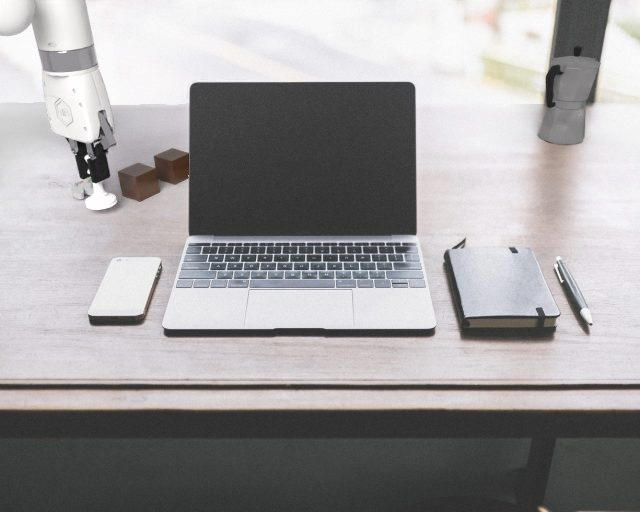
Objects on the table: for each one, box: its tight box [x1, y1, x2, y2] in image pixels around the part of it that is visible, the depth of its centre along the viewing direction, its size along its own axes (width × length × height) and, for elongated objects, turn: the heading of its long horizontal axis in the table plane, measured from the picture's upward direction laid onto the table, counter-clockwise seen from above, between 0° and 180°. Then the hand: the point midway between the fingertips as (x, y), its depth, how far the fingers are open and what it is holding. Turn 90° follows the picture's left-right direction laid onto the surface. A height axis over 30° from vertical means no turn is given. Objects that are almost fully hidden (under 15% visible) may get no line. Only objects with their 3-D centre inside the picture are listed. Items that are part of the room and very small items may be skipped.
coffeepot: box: [537, 45, 602, 146], centre depth 121 cm, size 15×9×18 cm, turn 129°
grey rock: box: [48, 177, 105, 200], centre depth 106 cm, size 6×12×3 cm, turn 81°
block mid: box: [116, 162, 161, 203], centre depth 105 cm, size 4×4×4 cm
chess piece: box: [84, 151, 118, 211], centre depth 97 cm, size 5×5×10 cm
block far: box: [153, 147, 190, 185], centre depth 111 cm, size 4×4×4 cm
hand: (95, 177), depth 97 cm, fingers closed on chess piece
